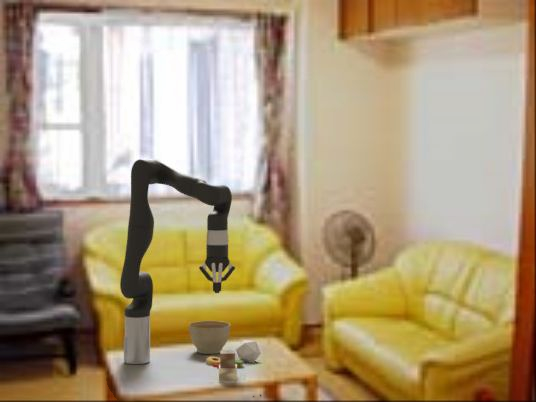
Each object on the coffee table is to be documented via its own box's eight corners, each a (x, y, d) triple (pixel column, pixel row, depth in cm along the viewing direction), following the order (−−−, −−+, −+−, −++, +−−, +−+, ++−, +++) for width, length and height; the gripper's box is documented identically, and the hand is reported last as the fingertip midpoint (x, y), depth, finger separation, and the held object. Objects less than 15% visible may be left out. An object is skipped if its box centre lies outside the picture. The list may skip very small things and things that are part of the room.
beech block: (218, 380, 286) (218, 368, 286) (219, 375, 292) (219, 364, 292) (236, 380, 286) (236, 368, 286) (236, 375, 292) (236, 364, 292)
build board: (209, 385, 283) (209, 382, 283) (210, 376, 295) (210, 373, 295) (245, 385, 283) (245, 382, 283) (245, 376, 295) (245, 373, 295)
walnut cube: (220, 368, 286) (220, 353, 286) (220, 364, 291) (220, 350, 291) (235, 368, 286) (235, 353, 286) (235, 364, 291) (235, 350, 291)
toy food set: (203, 365, 312) (203, 356, 312) (237, 362, 317) (237, 353, 316) (214, 373, 299) (214, 364, 299) (249, 370, 304) (249, 361, 304)
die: (264, 362, 318) (255, 339, 322) (262, 355, 310) (252, 332, 315) (243, 370, 317) (234, 347, 322) (241, 364, 310) (232, 340, 314)
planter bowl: (238, 351, 332) (238, 324, 331) (208, 358, 320) (208, 330, 320) (210, 345, 343) (210, 318, 343) (180, 351, 331) (180, 324, 331)
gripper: (197, 244, 289) (197, 294, 290) (236, 244, 290) (236, 294, 291) (198, 241, 297) (198, 291, 298) (236, 242, 297) (236, 291, 298)
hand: (217, 292), depth 294 cm, fingers closed
